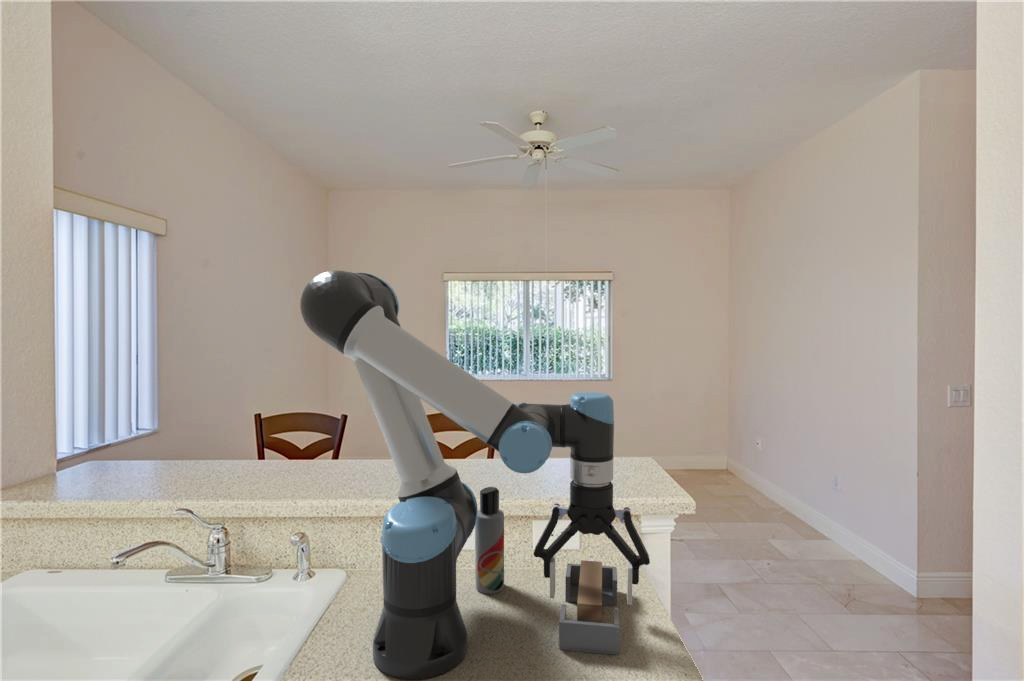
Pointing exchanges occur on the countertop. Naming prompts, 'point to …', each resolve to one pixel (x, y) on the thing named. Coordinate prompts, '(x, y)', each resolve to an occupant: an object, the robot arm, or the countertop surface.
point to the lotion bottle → (489, 543)
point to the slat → (590, 592)
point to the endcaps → (590, 633)
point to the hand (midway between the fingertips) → (590, 597)
